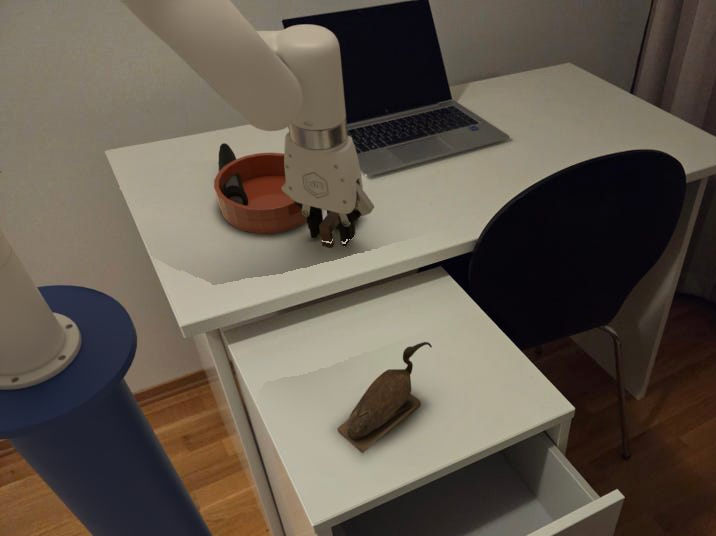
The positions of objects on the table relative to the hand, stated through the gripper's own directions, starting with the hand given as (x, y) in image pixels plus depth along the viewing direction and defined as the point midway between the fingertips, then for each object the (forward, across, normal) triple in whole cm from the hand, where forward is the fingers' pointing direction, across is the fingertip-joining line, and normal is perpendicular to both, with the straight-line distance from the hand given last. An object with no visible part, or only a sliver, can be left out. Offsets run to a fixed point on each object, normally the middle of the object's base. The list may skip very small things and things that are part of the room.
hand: (332, 236), depth 98 cm
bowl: (+1, -13, +4) cm, 14 cm away
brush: (+1, 0, +2) cm, 3 cm away
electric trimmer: (+1, -21, +6) cm, 22 cm away
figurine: (+1, +21, -27) cm, 34 cm away
